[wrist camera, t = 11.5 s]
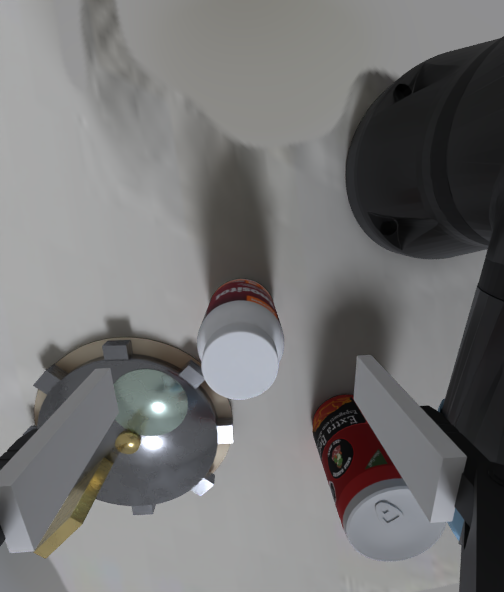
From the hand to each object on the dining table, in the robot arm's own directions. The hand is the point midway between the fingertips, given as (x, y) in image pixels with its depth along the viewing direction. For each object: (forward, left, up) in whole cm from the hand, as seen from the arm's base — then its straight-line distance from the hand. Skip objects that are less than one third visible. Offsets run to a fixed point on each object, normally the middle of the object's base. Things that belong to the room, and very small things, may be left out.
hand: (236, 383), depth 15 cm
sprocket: (+13, -12, -13) cm, 22 cm away
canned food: (+14, +11, -13) cm, 22 cm away
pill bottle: (0, 0, -13) cm, 13 cm away
